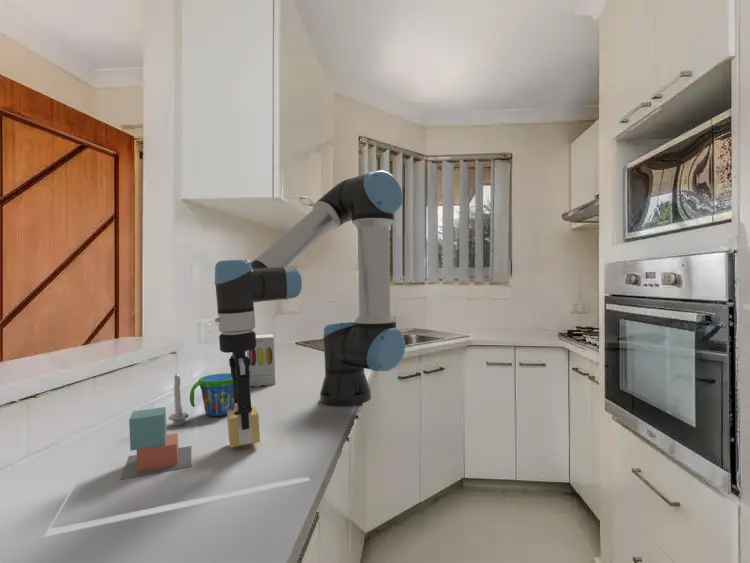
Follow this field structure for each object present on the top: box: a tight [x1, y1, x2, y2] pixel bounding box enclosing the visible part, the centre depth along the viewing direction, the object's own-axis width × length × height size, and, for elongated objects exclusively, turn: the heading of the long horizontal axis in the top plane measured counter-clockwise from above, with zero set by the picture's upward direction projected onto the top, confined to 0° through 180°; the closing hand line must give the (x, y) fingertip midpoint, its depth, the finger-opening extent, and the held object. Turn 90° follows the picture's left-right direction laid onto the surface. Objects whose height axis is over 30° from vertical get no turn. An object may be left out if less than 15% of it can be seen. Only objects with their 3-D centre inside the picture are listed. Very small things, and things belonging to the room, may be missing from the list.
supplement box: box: [246, 333, 276, 387], centre depth 159 cm, size 10×9×17 cm
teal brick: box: [128, 406, 168, 452], centre depth 90 cm, size 6×6×6 cm
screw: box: [168, 374, 190, 427], centre depth 116 cm, size 13×5×5 cm
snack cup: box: [189, 372, 236, 417], centre depth 124 cm, size 16×10×10 cm
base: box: [120, 432, 192, 481], centre depth 90 cm, size 12×12×5 cm
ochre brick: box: [226, 406, 261, 448], centre depth 97 cm, size 6×6×6 cm
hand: (244, 437), depth 97 cm, fingers closed on ochre brick, 6 cm apart
